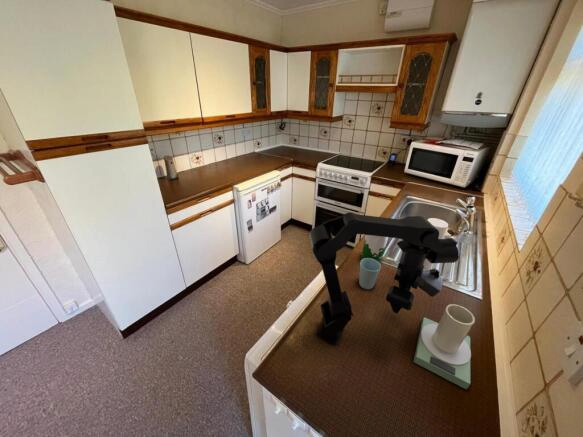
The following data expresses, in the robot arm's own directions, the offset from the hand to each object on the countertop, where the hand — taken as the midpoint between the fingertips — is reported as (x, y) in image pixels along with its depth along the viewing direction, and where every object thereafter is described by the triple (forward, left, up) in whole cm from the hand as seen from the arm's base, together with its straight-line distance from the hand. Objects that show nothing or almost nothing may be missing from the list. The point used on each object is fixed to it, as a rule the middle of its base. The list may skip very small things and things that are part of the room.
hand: (398, 301), depth 72 cm
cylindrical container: (+36, -4, -13) cm, 39 cm away
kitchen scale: (+1, -15, -13) cm, 20 cm away
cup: (+16, +13, -13) cm, 24 cm away
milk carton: (+33, +16, -13) cm, 39 cm away
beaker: (+2, -15, -10) cm, 18 cm away
